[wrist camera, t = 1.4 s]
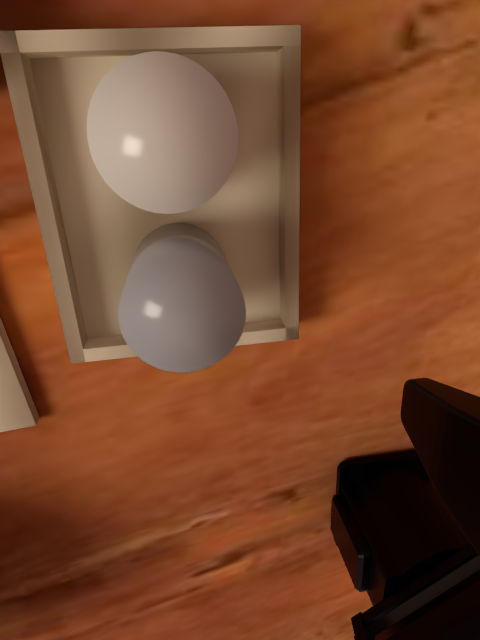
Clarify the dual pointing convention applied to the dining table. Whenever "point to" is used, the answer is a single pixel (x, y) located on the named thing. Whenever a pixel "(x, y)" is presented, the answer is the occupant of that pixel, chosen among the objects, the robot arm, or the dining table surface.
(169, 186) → the pale pebble
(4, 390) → the tray lid
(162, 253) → the grey rounded piece
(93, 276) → the birch tray
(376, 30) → the dining table surface
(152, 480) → the dining table surface
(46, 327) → the dining table surface
